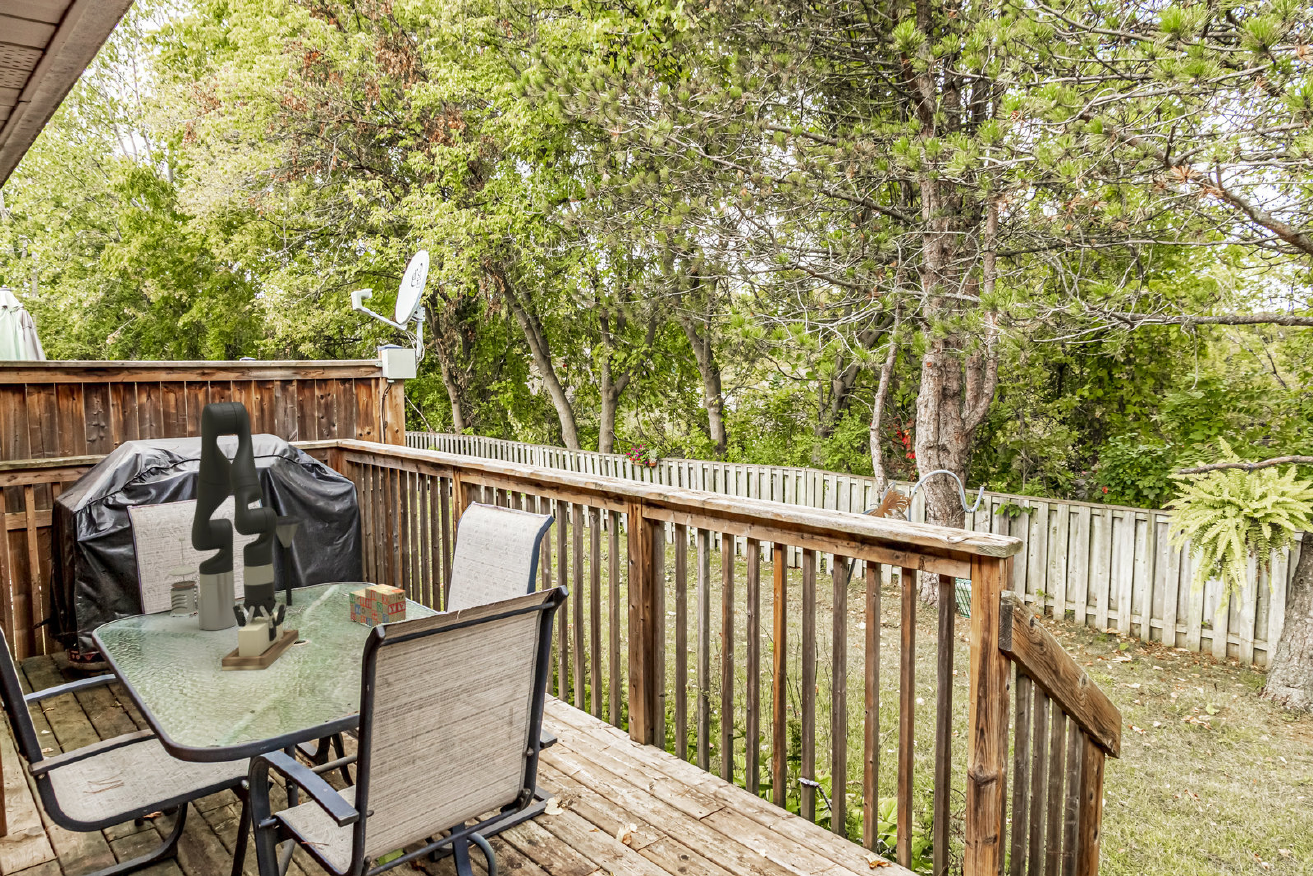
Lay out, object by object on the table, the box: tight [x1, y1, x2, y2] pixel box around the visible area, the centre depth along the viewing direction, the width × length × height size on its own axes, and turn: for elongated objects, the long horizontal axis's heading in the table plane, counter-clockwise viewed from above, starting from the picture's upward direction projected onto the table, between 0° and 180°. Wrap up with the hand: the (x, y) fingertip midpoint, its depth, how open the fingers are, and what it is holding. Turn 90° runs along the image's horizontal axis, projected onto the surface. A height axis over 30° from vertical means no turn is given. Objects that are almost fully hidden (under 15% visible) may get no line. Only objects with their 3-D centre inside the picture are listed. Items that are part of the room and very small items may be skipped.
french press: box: [168, 536, 201, 614], centre depth 256 cm, size 10×12×25 cm
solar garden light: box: [275, 514, 306, 607], centre depth 264 cm, size 12×12×30 cm
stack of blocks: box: [348, 583, 407, 627], centre depth 243 cm, size 21×6×12 cm, turn 51°
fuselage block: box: [237, 612, 284, 657], centre depth 217 cm, size 5×16×7 cm, turn 3°
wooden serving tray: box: [221, 629, 300, 671], centre depth 218 cm, size 11×23×3 cm, turn 4°
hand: (261, 640), depth 218 cm, fingers closed on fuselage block, 5 cm apart
